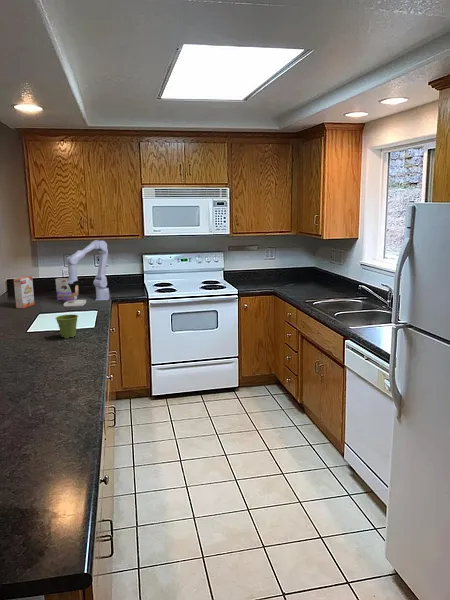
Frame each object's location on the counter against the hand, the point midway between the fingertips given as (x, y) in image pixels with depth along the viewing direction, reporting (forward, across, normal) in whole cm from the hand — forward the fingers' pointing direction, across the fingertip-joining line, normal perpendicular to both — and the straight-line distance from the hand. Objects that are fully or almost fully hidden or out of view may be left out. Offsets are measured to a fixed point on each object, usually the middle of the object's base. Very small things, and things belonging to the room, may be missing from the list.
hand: (74, 292), depth 350 cm
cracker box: (+9, +2, -34) cm, 35 cm away
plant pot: (+9, +88, +16) cm, 90 cm away
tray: (+9, 0, 0) cm, 9 cm away
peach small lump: (+2, 0, 0) cm, 2 cm away
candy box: (+9, -18, -10) cm, 23 cm away
